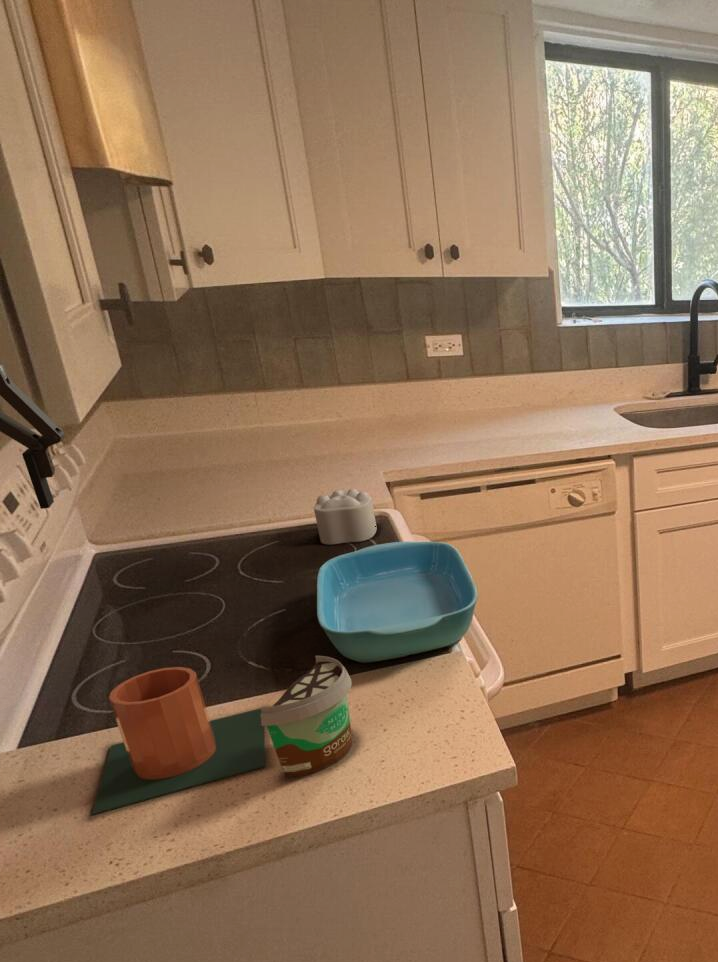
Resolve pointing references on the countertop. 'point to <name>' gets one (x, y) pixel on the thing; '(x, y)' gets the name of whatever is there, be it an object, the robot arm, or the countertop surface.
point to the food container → (312, 719)
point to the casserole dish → (395, 600)
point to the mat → (232, 756)
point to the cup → (163, 722)
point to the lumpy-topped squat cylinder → (345, 517)
